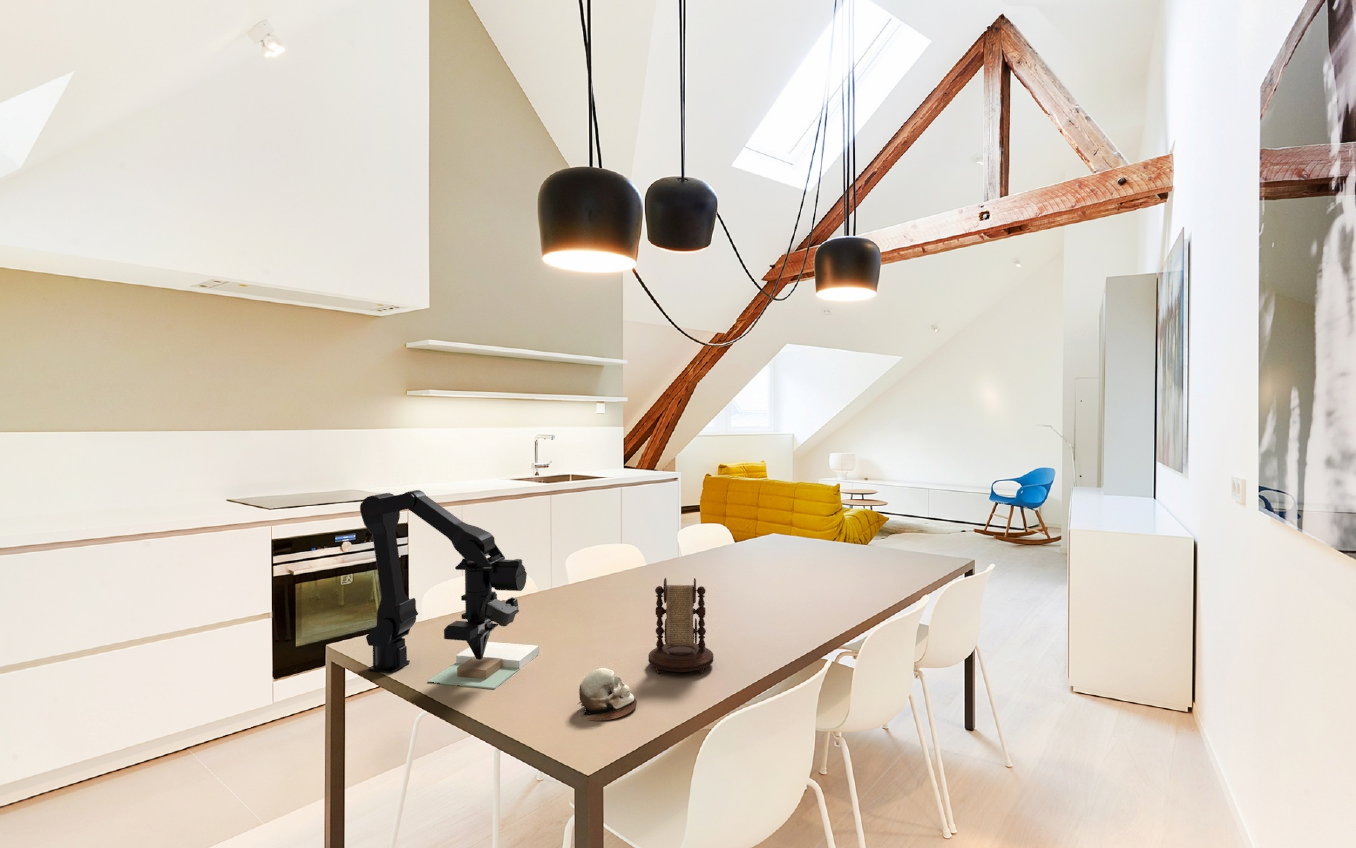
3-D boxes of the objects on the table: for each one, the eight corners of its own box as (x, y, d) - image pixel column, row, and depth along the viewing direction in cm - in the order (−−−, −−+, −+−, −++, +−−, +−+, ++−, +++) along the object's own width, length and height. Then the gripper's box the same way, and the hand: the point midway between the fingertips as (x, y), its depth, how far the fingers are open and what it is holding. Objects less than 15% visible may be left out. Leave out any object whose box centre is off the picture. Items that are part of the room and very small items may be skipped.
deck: (456, 664, 153) (456, 655, 153) (479, 649, 162) (479, 641, 162) (519, 669, 149) (519, 660, 149) (539, 654, 159) (539, 645, 159)
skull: (631, 685, 137) (637, 660, 131) (636, 736, 130) (642, 712, 123) (573, 688, 135) (576, 663, 128) (574, 740, 127) (577, 717, 121)
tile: (457, 676, 144) (457, 667, 144) (474, 665, 151) (474, 656, 151) (486, 679, 143) (486, 670, 143) (502, 667, 150) (502, 658, 150)
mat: (427, 682, 142) (427, 681, 142) (455, 664, 153) (455, 663, 153) (494, 689, 138) (494, 687, 138) (519, 670, 149) (519, 668, 149)
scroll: (645, 678, 143) (644, 586, 143) (651, 654, 158) (651, 570, 158) (713, 679, 143) (712, 586, 142) (713, 654, 157) (712, 570, 157)
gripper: (489, 602, 136) (490, 678, 136) (530, 580, 154) (531, 647, 155) (441, 599, 139) (442, 673, 139) (487, 578, 157) (488, 644, 157)
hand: (479, 659), depth 147 cm, fingers closed
